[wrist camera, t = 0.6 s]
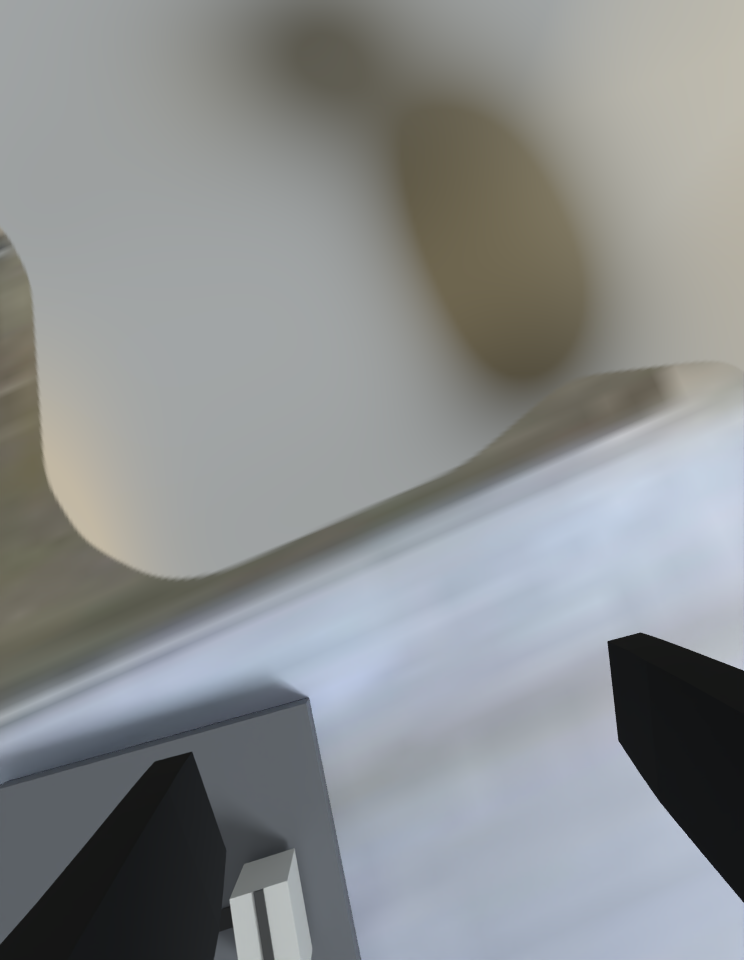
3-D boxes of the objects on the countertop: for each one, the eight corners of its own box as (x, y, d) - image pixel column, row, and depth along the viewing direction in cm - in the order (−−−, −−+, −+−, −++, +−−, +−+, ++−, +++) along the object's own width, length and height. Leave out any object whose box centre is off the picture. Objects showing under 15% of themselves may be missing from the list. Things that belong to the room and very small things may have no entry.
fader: (312, 948, 22) (307, 999, 19) (259, 966, 21) (245, 1021, 18) (294, 848, 23) (287, 881, 20) (244, 864, 22) (228, 900, 20)
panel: (379, 1053, 23) (383, 1095, 21) (22, 1187, 21) (-12, 1248, 19) (308, 697, 27) (306, 703, 25) (7, 781, 25) (-23, 795, 23)
